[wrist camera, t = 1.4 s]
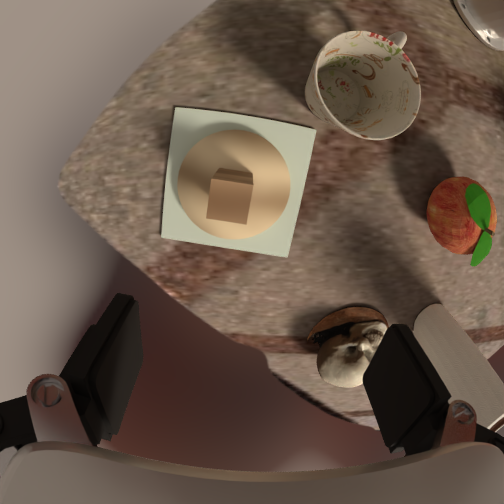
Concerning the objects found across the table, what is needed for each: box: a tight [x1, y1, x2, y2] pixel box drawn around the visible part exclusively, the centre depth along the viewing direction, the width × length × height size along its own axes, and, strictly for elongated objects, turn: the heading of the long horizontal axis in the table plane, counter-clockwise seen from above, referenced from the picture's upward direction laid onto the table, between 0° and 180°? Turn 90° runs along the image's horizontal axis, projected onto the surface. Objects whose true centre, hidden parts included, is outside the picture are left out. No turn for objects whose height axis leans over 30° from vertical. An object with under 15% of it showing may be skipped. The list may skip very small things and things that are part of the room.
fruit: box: [427, 177, 497, 266], centre depth 25 cm, size 9×10×10 cm
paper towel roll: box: [413, 304, 504, 432], centre depth 27 cm, size 7×6×21 cm
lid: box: [177, 130, 290, 239], centre depth 25 cm, size 11×11×7 cm
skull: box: [307, 306, 389, 388], centre depth 36 cm, size 12×10×10 cm
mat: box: [161, 107, 316, 257], centre depth 29 cm, size 14×14×1 cm
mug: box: [305, 31, 421, 140], centre depth 20 cm, size 8×13×10 cm, turn 146°
